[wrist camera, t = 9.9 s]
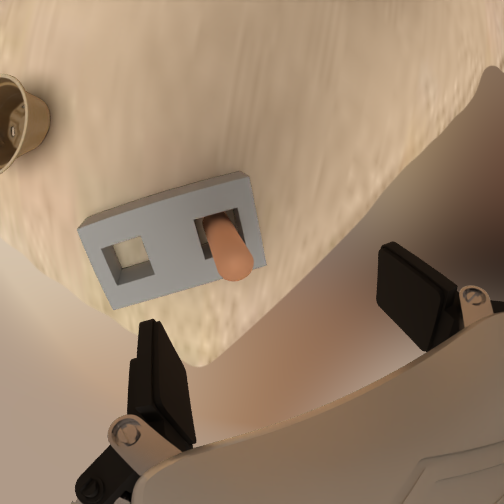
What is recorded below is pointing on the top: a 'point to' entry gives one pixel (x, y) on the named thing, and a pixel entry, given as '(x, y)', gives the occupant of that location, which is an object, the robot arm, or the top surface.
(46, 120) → the flower pot
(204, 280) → the socket block
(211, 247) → the peg
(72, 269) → the top surface
